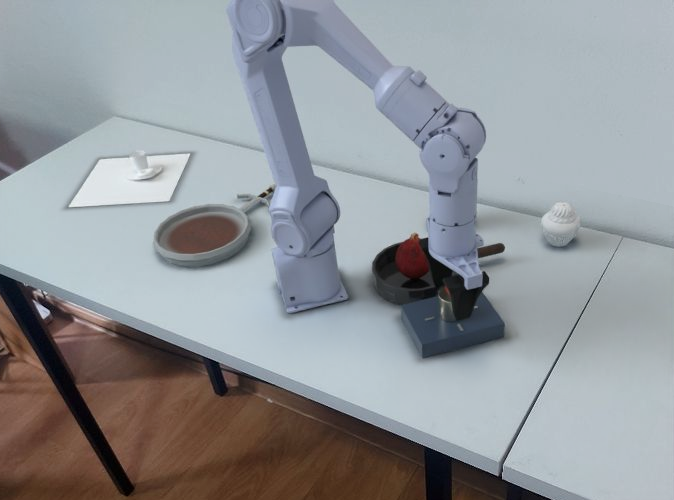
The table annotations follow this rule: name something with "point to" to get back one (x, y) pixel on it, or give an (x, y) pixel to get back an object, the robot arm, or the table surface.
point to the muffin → (560, 224)
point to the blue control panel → (450, 326)
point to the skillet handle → (490, 250)
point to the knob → (445, 305)
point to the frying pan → (206, 232)
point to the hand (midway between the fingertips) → (451, 300)
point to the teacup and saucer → (131, 180)
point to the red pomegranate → (411, 258)
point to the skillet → (400, 280)
